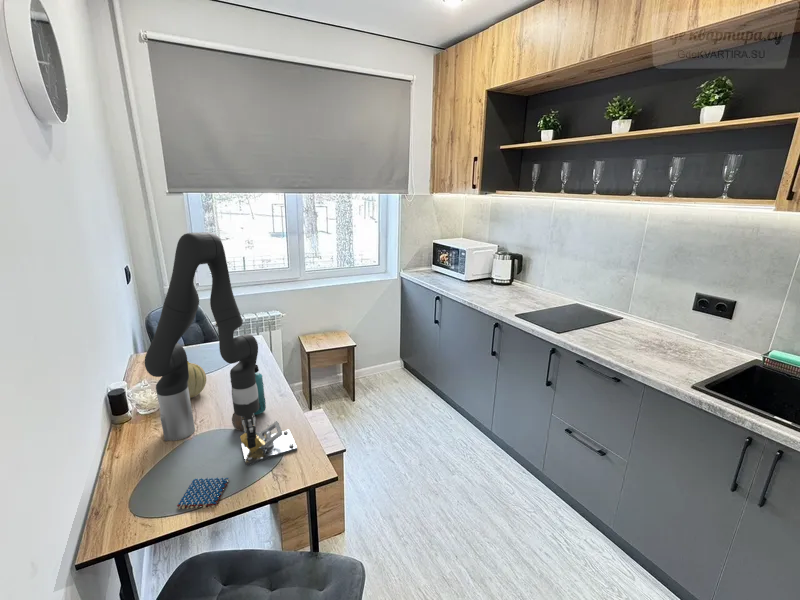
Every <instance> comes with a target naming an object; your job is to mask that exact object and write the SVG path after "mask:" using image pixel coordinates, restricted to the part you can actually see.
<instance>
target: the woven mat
mask: <svg viewBox="0 0 800 600" xmlns="http://www.w3.org/2000/svg"><path fill="white" fill-rule="evenodd" d="M227 480H228V481H229V482H230V480H229V477H223V476H222V477H219V478H218V476H217V477H211V478H210V477H209V478H208V477H207V478H203V477H201V478H194V479H193V480H192V481H191V483H190V484H189V487H188V488H187V489H186V491H185V493H184V494H183V496H182V497H181V498H180V501H179V502H178V504H177V505H176V506H177V507H178V508H177V510H183V509H185V507H186V510H189V509H193V508H195V509H198V508H197V507H200V506H203V507H202V509H206V508H207V509H209V508H210V507H211V508H212V509H213V508H215V507H216V506H217V504H219V501H220V499H221V497H222V495H223V494H222V493H224V490H225V489H224V487H225V488H226V487H227V486H228V485H227V484H229V482H227ZM226 483H227V484H226ZM220 485H221V486H220ZM225 485H226V486H225ZM200 486H201V487H200ZM223 489H224V490H223ZM214 492H215V493H214ZM221 492H222V493H221ZM211 494H212V495H211ZM217 494H218V495H217ZM221 494H222V495H221ZM217 496H220V497H217ZM206 506H207V507H206ZM188 508H189V509H188Z"/></svg>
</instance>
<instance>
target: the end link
mask: <svg viewBox="0 0 800 600" xmlns="http://www.w3.org/2000/svg"><path fill="white" fill-rule="evenodd" d="M275 428H276V433H274V434H275V435H274V436H272V437H271V438H270V439H268V440H267V441H266V442H265V439H264V437H265V435H264V432H265V431H271V432H272V431H273V430H274V429H275ZM282 432H283V430H282V428H281V426H280V423H279V422H278V421H277V420H275V421H274V422H273V423H271V425H269V426H268V427H266V428H265V429H263V430H262V431H260V433H258V434H257V433H256V439H255V443H256V446H255V447H253V448H249V447H248V440H247V438H246V437H247V435H246V433H245V432H244V433H242V434H241V435H240V436H239V437H240V442H241V443H243V444H244V445H245V446H246V447H247V448H248V449H249V450H250V451H251V452H252V453H253V452H254V451H256V450H257V449H258V448H260V447H261V446H262V447H263V448H266V447H267V446H268V445H270V444H271V443H272V442H274V441H275V440H276V439H278V438H279V437H280V436H282V435H283V433H282Z"/></svg>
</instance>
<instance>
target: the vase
mask: <svg viewBox="0 0 800 600" xmlns="http://www.w3.org/2000/svg"><path fill="white" fill-rule="evenodd" d="M231 424H232V426H233V428H234V429H236V431H240V432H244V427H243V424H242V420H241V416H238V415H236V414H235V413H234V412H233V413H232V417H231Z"/></svg>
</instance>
